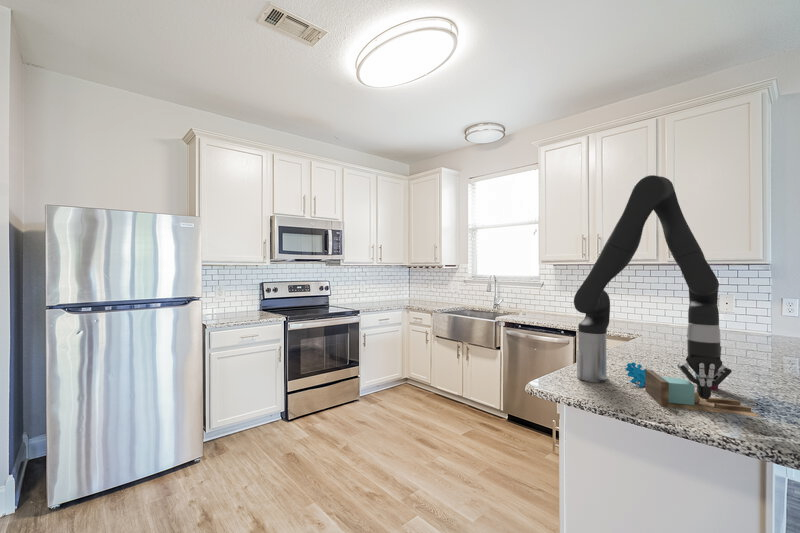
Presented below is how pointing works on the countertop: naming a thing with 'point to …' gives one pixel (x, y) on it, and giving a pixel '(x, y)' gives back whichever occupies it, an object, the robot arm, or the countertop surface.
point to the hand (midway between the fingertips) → (704, 398)
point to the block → (680, 391)
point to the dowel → (696, 398)
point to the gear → (636, 373)
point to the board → (660, 394)
